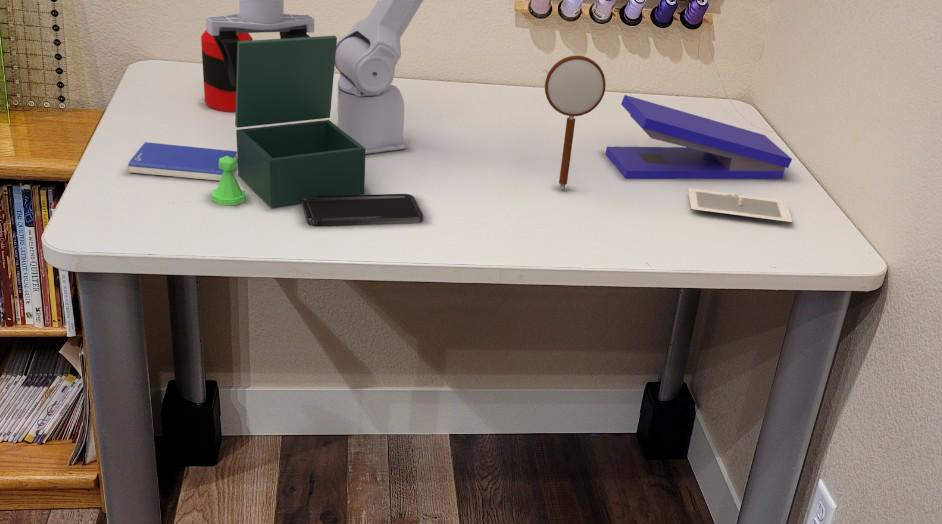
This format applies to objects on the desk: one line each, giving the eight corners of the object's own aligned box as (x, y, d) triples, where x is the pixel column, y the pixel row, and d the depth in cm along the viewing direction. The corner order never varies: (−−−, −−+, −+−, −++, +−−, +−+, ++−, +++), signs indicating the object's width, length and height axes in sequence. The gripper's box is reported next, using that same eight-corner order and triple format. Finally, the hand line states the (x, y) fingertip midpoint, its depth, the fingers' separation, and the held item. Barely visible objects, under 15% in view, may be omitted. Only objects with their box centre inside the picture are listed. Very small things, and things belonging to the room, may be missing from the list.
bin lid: (337, 37, 140) (335, 35, 141) (239, 43, 133) (237, 40, 133) (330, 118, 148) (328, 115, 148) (236, 128, 140) (234, 125, 140)
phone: (300, 196, 139) (412, 193, 144) (300, 203, 140) (412, 200, 145) (308, 222, 133) (424, 218, 138) (308, 230, 134) (424, 225, 139)
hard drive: (127, 162, 139) (223, 171, 141) (145, 140, 146) (236, 149, 148) (128, 173, 140) (224, 182, 141) (146, 151, 147) (237, 160, 148)
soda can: (217, 93, 170) (213, 19, 164) (262, 101, 170) (260, 27, 164) (196, 107, 164) (191, 30, 158) (243, 115, 163) (240, 38, 157)
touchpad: (790, 228, 153) (794, 215, 152) (689, 215, 152) (692, 202, 151) (783, 207, 160) (786, 194, 158) (686, 194, 159) (689, 181, 158)
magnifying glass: (589, 188, 156) (608, 56, 146) (591, 193, 155) (610, 60, 144) (532, 185, 154) (547, 51, 144) (534, 190, 153) (549, 55, 143)
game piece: (206, 194, 138) (204, 151, 135) (239, 190, 140) (237, 147, 137) (218, 207, 135) (215, 164, 132) (250, 202, 137) (249, 160, 134)
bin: (364, 194, 144) (365, 148, 141) (271, 208, 136) (269, 160, 133) (328, 163, 151) (329, 119, 148) (238, 175, 144) (236, 129, 140)
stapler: (604, 152, 170) (612, 94, 165) (757, 153, 179) (770, 98, 174) (627, 181, 161) (637, 119, 156) (788, 180, 170) (802, 122, 165)
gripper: (299, -23, 147) (298, 72, 154) (196, -23, 138) (199, 77, 145) (322, -10, 142) (319, 87, 149) (216, -9, 134) (219, 94, 141)
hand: (261, 83), depth 147 cm, fingers open, 7 cm apart
